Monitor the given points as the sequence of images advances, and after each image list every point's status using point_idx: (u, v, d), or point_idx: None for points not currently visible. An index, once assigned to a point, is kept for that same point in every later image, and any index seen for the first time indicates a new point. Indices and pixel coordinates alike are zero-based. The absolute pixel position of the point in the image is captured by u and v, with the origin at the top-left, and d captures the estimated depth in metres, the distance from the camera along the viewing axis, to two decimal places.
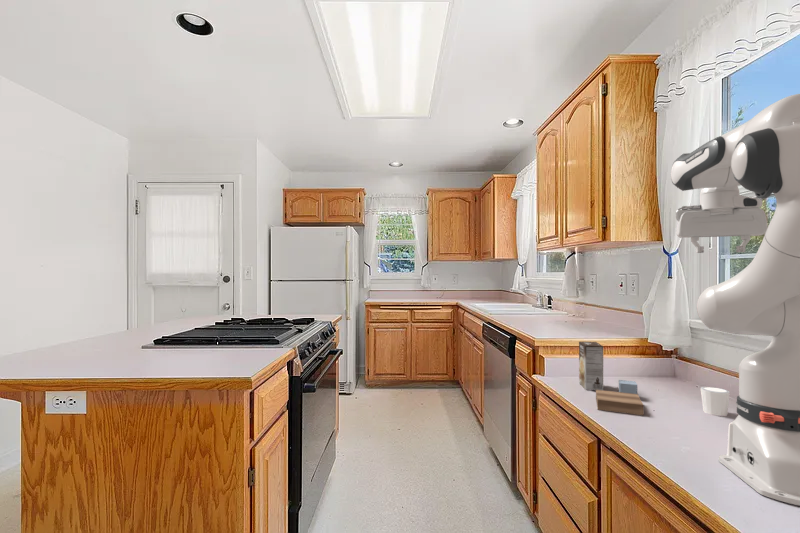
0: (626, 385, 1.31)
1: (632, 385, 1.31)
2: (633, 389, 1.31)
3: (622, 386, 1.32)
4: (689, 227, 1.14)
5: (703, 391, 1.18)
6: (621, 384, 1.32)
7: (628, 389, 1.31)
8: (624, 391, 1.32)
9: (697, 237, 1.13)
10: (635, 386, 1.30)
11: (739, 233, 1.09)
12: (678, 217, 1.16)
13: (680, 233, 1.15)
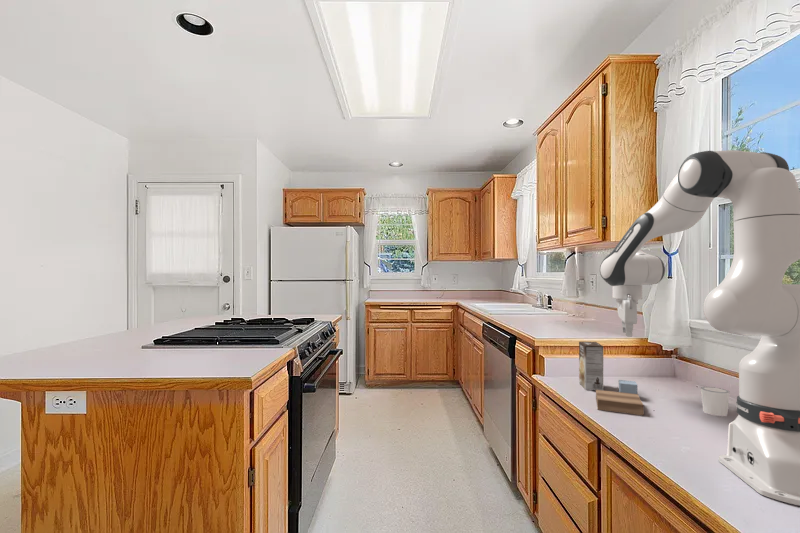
0: (626, 385, 1.31)
1: (632, 385, 1.31)
2: (633, 389, 1.31)
3: (622, 386, 1.32)
4: None
5: (703, 391, 1.18)
6: (621, 384, 1.32)
7: (628, 389, 1.31)
8: (624, 391, 1.32)
9: None
10: (635, 386, 1.30)
11: None
12: (632, 305, 1.25)
13: (636, 321, 1.25)
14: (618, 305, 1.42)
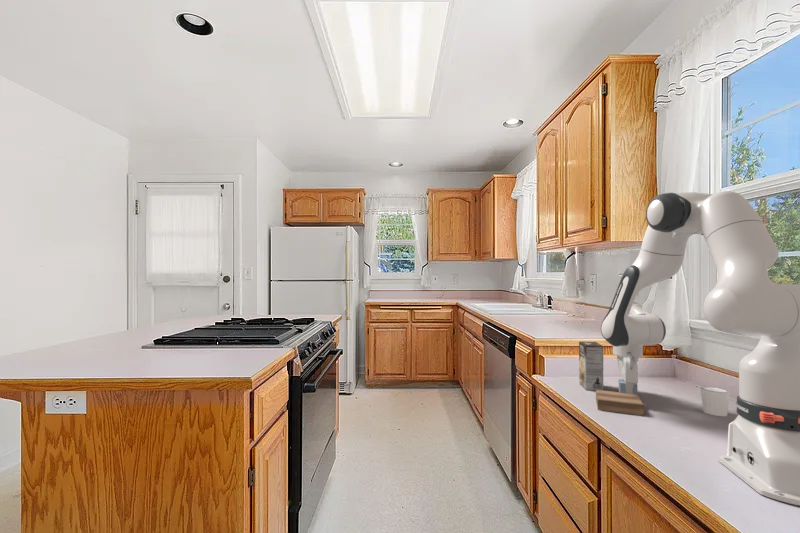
0: None
1: None
2: (633, 389, 1.31)
3: (622, 386, 1.32)
4: None
5: (703, 391, 1.18)
6: (621, 384, 1.32)
7: None
8: (624, 391, 1.32)
9: None
10: (635, 386, 1.30)
11: None
12: (632, 365, 1.24)
13: (637, 381, 1.24)
14: None
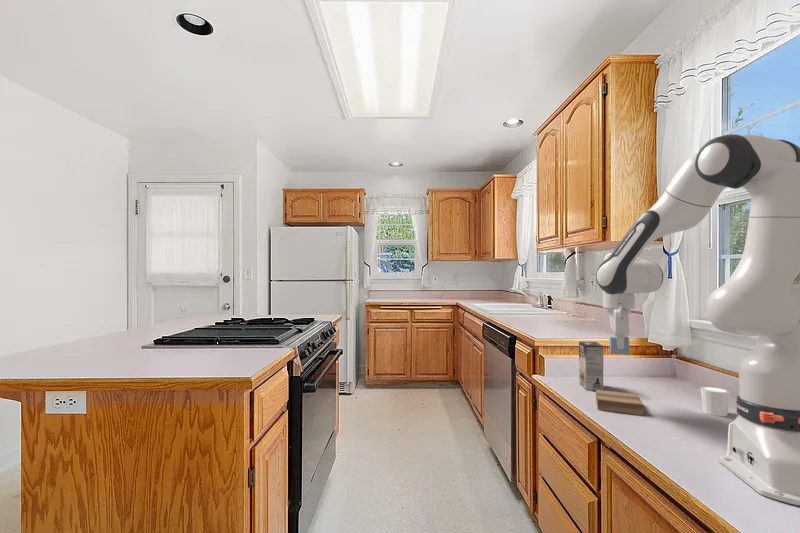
0: None
1: None
2: (625, 343, 1.21)
3: (613, 340, 1.22)
4: None
5: (703, 391, 1.18)
6: (612, 338, 1.23)
7: None
8: (615, 346, 1.22)
9: None
10: (627, 340, 1.21)
11: None
12: None
13: (628, 332, 1.15)
14: (610, 315, 1.32)
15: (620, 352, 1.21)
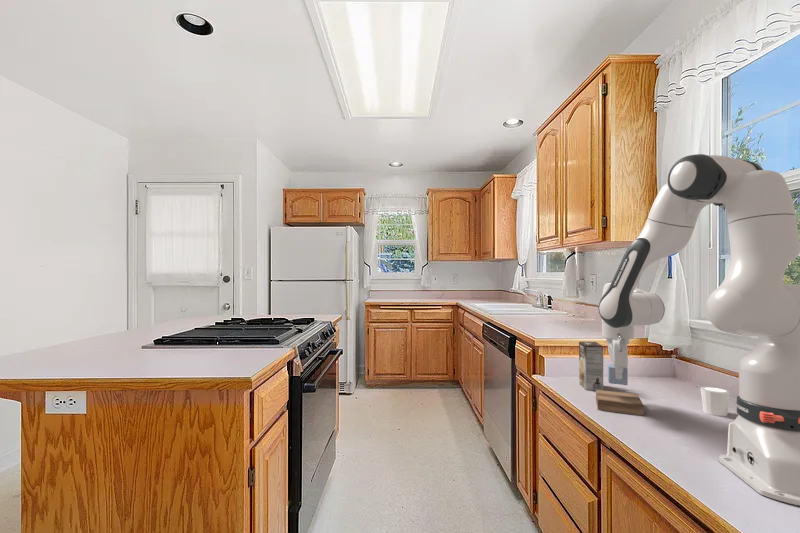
0: None
1: None
2: (623, 373, 1.21)
3: (611, 370, 1.22)
4: None
5: (703, 391, 1.18)
6: (610, 368, 1.22)
7: None
8: (613, 375, 1.22)
9: None
10: (625, 370, 1.20)
11: None
12: (622, 347, 1.15)
13: (627, 365, 1.14)
14: None
15: (618, 382, 1.21)
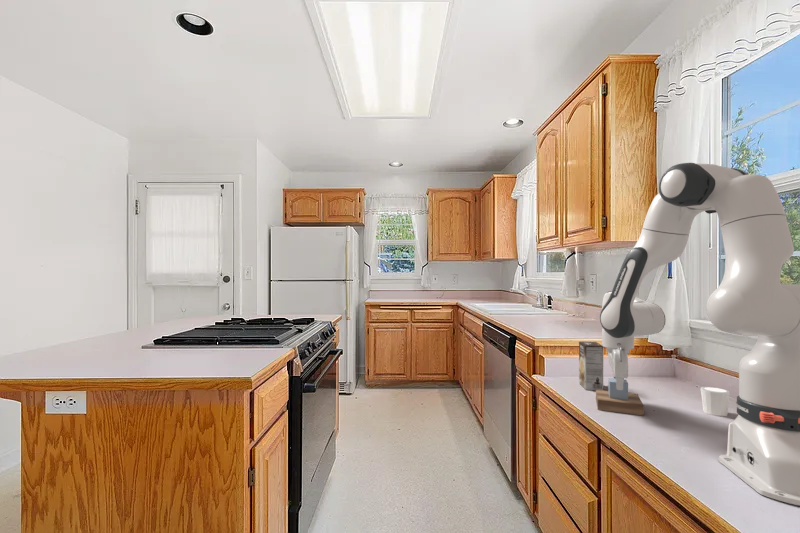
0: None
1: None
2: (623, 388, 1.20)
3: (612, 385, 1.22)
4: None
5: (703, 391, 1.18)
6: (611, 383, 1.22)
7: None
8: (613, 390, 1.21)
9: None
10: (626, 385, 1.20)
11: None
12: (622, 358, 1.14)
13: (627, 375, 1.14)
14: (609, 351, 1.31)
15: (619, 397, 1.21)
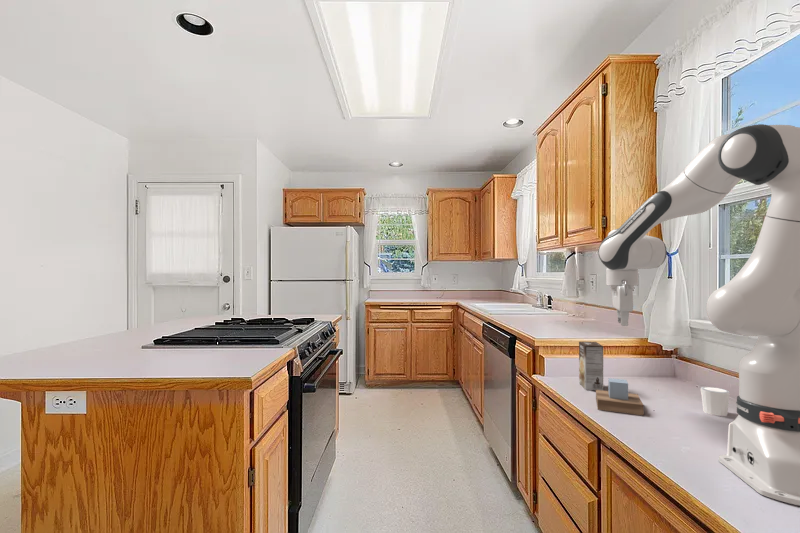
0: (616, 384, 1.21)
1: (622, 384, 1.21)
2: (623, 388, 1.20)
3: (612, 385, 1.22)
4: None
5: (703, 391, 1.18)
6: (611, 383, 1.22)
7: (618, 388, 1.21)
8: (613, 390, 1.21)
9: (628, 311, 1.18)
10: (626, 385, 1.20)
11: None
12: None
13: (632, 308, 1.14)
14: (613, 294, 1.31)
15: (619, 397, 1.21)
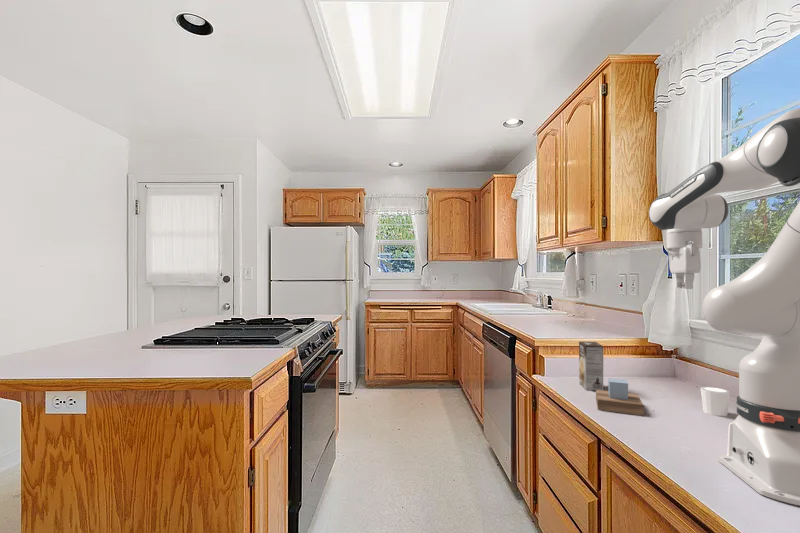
0: (616, 384, 1.21)
1: (622, 384, 1.21)
2: (623, 388, 1.20)
3: (612, 385, 1.22)
4: None
5: (703, 391, 1.18)
6: (611, 383, 1.22)
7: (618, 388, 1.21)
8: (613, 390, 1.21)
9: None
10: (626, 385, 1.20)
11: None
12: None
13: None
14: (670, 259, 1.27)
15: (619, 397, 1.21)
